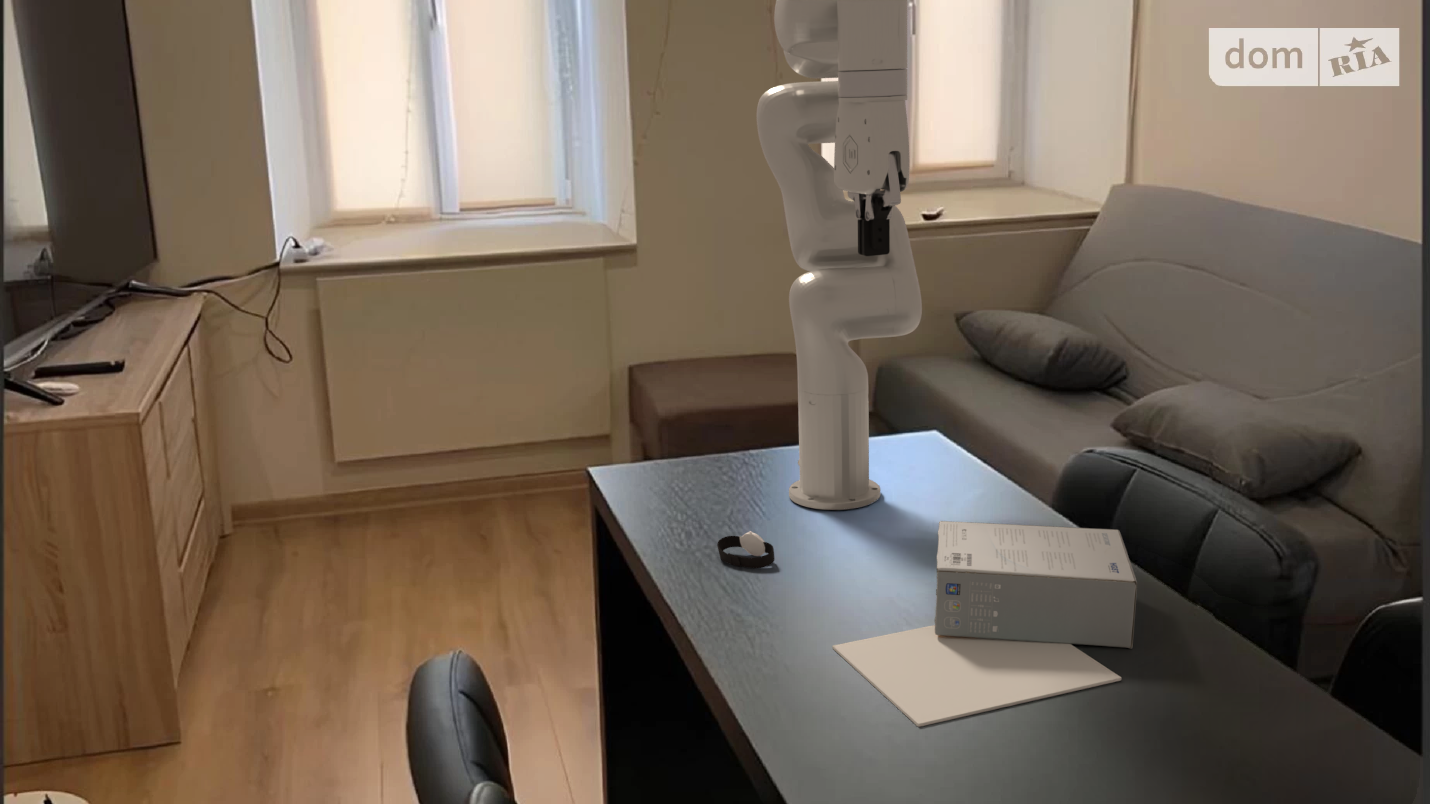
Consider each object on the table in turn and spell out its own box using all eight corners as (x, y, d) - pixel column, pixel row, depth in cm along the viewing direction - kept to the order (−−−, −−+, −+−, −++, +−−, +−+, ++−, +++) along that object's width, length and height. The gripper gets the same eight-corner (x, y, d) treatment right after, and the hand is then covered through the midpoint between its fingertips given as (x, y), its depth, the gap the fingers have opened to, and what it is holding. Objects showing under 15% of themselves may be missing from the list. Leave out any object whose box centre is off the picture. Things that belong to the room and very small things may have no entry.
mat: (832, 648, 135) (832, 645, 135) (1016, 611, 142) (1016, 608, 142) (918, 726, 118) (918, 723, 118) (1121, 680, 126) (1121, 677, 126)
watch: (783, 561, 159) (782, 533, 158) (761, 574, 155) (760, 546, 154) (731, 550, 163) (730, 522, 162) (709, 562, 160) (707, 534, 159)
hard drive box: (932, 637, 135) (1133, 650, 132) (934, 568, 133) (1138, 579, 130) (936, 580, 150) (1117, 591, 146) (938, 517, 148) (1122, 526, 144)
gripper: (813, 88, 149) (815, 249, 154) (873, 89, 136) (874, 265, 140) (872, 86, 152) (873, 244, 156) (937, 86, 138) (936, 259, 143)
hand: (873, 254), depth 148 cm, fingers closed
